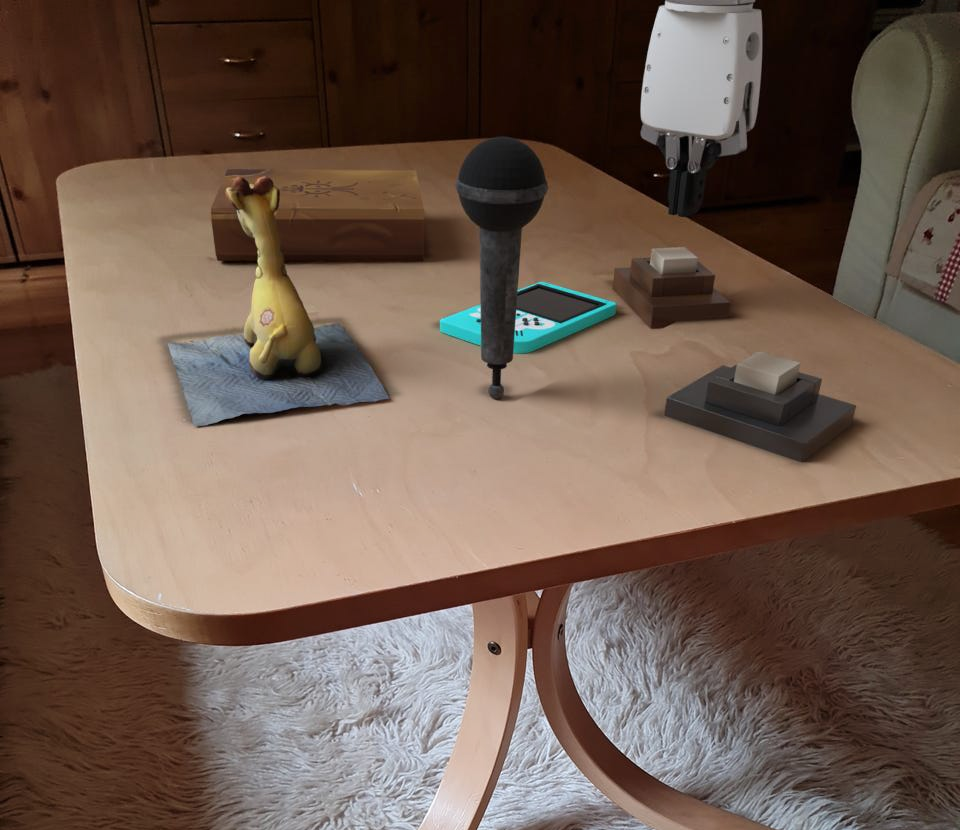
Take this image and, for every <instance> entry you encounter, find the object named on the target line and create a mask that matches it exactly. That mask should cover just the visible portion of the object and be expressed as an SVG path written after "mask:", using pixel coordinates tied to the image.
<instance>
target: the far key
mask: <svg viewBox="0 0 960 830" xmlns="http://www.w3.org/2000/svg"><path fill="white" fill-rule="evenodd" d="M650 257H651V259H650V265H651V266H652V267H653V268H654V269H655V270H656V271H657V272H658V273H660V274H673V273H692V272H696V268H697V261H698V262H699V258H698V256H697V255H695V254H694V253H693V252H692V251H690V249H688V248H687V247H685V246H681V247H679V246H678V247H677V246H676V247H658V248H657V247H656V248H651V251H650Z"/></svg>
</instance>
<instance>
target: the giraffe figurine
mask: <svg viewBox="0 0 960 830" xmlns="http://www.w3.org/2000/svg"><path fill="white" fill-rule="evenodd" d="M273 184H274V183H273V181H272V180H271V179H270V178H269V177H267V176H263V177H261V178H258V179H257V181H256V182H255V184H254V185H253V184H249V183H248V181H247V180H245V179H244V178H242V177H237V178H235V179H234V181H233V187H232V188H227V189H226V191H225V193H226V197H227V199H228V200H229V202H230V203H231V205H232V206H233V207H234V208H235V209H236V210H237V214H238V218H239V221H240V223H241V225H242V228H243V230H244V231H245V233H246V234H247V235H248V236H250V237H252V238H255V243H256V246H257V248H258V261H257V265H258V266H257V267H256V269H255V277H256V278H255V280H254V283H253V288H252V294H251V305H250V307H251V308H250V312H249V314H248V316H247V319H246V321H245V324H244V326H243V327H244V328H243V333H240V334H229V335H224V336H221V335H215V336H213V337H210V338H207V339H200V340H195V341H194V340H190V341H188V342H183V343H182V342H171V341H170V342H169V341H166V343H167V345H168V350H169V353H170V357H171V360H172V363H173V365H174V368H175V371H176V374H177V377H178V380H179V383H180V386H181V390H182V393H183V395H184V399H185V401H186V405H187V408H188V411H189V414H190V418H191V420H192V425H193V427H203V426H208V425H212V424H216V423H218V422H220V421H223V420H226V419H227V420H228V419H234V418H235V417H239V416H241V415H244V414H245V415H246V414H247V415H251V414H271V413H276V412H282V411H285V410H286V411H287V410H289V409H295V408H304V407H307V408H311V407H321V406H328V407H330V406H332V405H334V404H336V405H340V406H350V405H352V404H357V403H361V402H362V403H363V402H364V403H367V402H369V403H370V402H372V403H373V402H377V401H383V400H388V399H390V396H389V394H388V393H387V391H386V389H385V388H384V386H383V384H382V383H381V381H380V379H379V378H378V376H377V375H376V373H375V372H374V369H373V367H372V366H371V364H370V363H369V361H368V360H367V358H366V357H365V355H364V353H363V352H362V351H361V349H360V348H359V346H358V345H357V344H356V343H355V342H354V341H353V338H352V337H351V336H350V335H349V334H348V332H347V331H345V329H344V328H343V327H342V326H341V325H340V323H338V322H337V323H332V324H328V325H326V324H324V325H321V326H316V327H315V326H314V324H313V322H312V320H311V319H310V317H309V315H308V312H307V309H306V308H305V305H304V303H303V301H302V298H301V297H300V295H299V293H298V291H297V288H296V286H295V284H294V283H293V281H292V279H291V277H290V276H289V275H288V271H287V268H286V265H285V264H284V263H285V261H284V258H283V254H282V246H281V239H280V236H279V233H278V231H277V227H276V221H275V216H274V212H275V211H276V210H277V209H278V207H279V201H280V190H279V189H278V188H276V187H274V185H273Z"/></svg>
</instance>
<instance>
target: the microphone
mask: <svg viewBox="0 0 960 830" xmlns="http://www.w3.org/2000/svg"><path fill="white" fill-rule="evenodd" d="M548 189H549V184H548V180H547V178H546V174H545V170H544V167H543V164H542V162H541V160H540V158H539V157H538V155H537V154H536V152H535V151H534V150H533V149H532V148H531V147H529V145H528V144H526V143H524V142H523V141H521V140H520V139H517V138H513V137H510V136H496V137H492V138H491V137H490V138H488V139H487V138H486V139H485V140H484V141H482V142H480V143H478V144H476V146H475V147H473V148H472V149H471V150H470V151H469V153H468V154H467V155H466V157H465V159H464V160H463V162H462V164H461V166H460V169H459V173H458V177H457V178H456V181H455V191H456V193H457V194H458V198H459V201H460V202H459V203H460V205H461V207H462V209H463V211H464V212H465V214H466V216H467V217H468V218H469V219H470V221H471V222H473V223H474V224H475V225H476V226H477V227H478V230H479V231H478V232H479V233H478V235H479V236H478V237H479V238H478V239H479V295H480V296H479V298H480V304H479V305H481V346H480V357H481V361H482V362H484V363H486V367H487V368H489V369H490V370H492V375H491V376H492V377H491V384H490V386H489V387H488V389H487V390H488V395H489V397H490V398H492V399H495V400H498V399H501V398H502V397H503V396H504V394H505V388H504V386H503V385H502V382H501V381H502V378H501V377H502V370H504V369H506V368H507V366H508V364H509V363H511V362H512V361H513V359H514V353H513V349H514V335H515V321H516V306H517V292H518V290H519V277H520V261H521V248H522V235H523V228H524V227H526V226H527V225H528V224H529V223H531V222H532V221H533V220H534V218H535V217H536V216H537V215H538V214H539V211H540V209H541V208H542V205H543V202H544V199H545V196H546V195H547V193H548Z"/></svg>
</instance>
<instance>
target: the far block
mask: <svg viewBox="0 0 960 830" xmlns="http://www.w3.org/2000/svg"><path fill="white" fill-rule="evenodd" d="M650 259H651V256H650V257H634V258H633V257H632V258H631V263H630V267H615V268H614V271H613V280H612V290H613V291H614V292H615V293H616V294H617V295H618V296H619V297H620V299H622V300H623V302H624V303H626V305H627V306H628V307H629V308H630V309H631V310H632V312H634V313H635V314H636V315H637V317H639V318H640V320H642V322H643V323H644V324H645V325H646V326H647V327H648V328H649V329H650V330H656V329H665V328H668V327H669V326H671V325H673V324H675V323H677V322H689V321H690V322H691V321H708V320H724V319H725V320H726V319H729V315H730V309H731V301H730V300H729V299H727V298H726V297H725V296H724V295H723V294H721V293H720V292H719V291H718V290H717V289H715V287H714V286H715V279H716V274H714V273H713V272H712V271H711V270H709V268H707V267H706V266H705V265H703V264H702V263H701V262H700V261H699V260H698V261H697V268H696V272H692V273H673V274H660V273H658V272H657V271H656V270H655V269H654V268H653V267H652V266H651V265H650Z"/></svg>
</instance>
